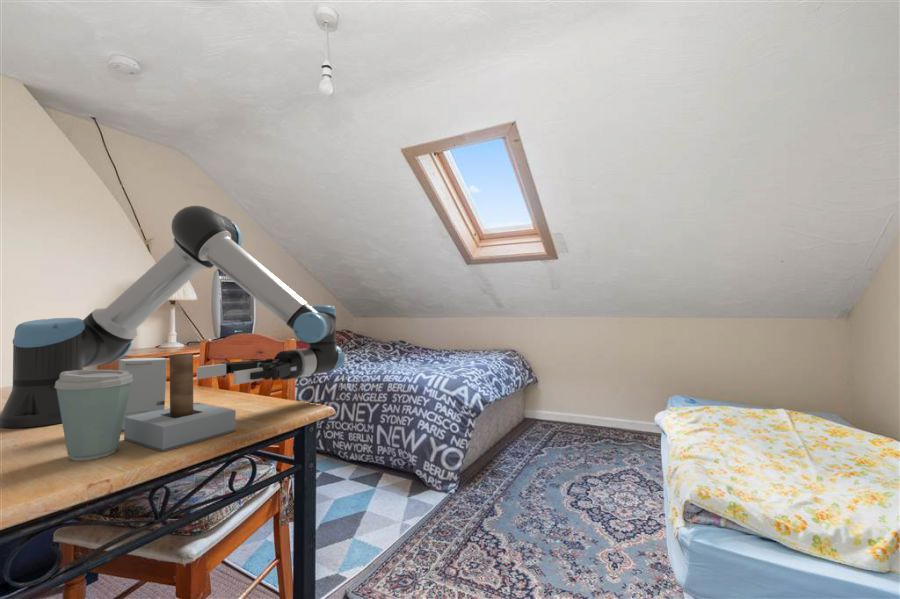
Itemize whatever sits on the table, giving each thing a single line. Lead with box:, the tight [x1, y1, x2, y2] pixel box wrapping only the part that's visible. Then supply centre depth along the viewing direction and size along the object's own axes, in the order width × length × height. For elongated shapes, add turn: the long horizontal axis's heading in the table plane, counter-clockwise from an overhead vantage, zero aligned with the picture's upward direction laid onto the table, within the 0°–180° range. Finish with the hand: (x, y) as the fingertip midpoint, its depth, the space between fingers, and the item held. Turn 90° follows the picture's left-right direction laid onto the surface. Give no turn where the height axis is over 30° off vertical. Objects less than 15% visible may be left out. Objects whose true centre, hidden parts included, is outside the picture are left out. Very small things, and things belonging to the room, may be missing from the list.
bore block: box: [123, 402, 236, 453], centre depth 82 cm, size 14×14×4 cm
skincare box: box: [118, 357, 168, 432], centre depth 90 cm, size 8×6×15 cm
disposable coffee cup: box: [55, 369, 133, 462], centre depth 71 cm, size 11×11×15 cm
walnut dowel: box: [169, 353, 194, 418], centre depth 82 cm, size 4×4×16 cm
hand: (215, 375), depth 88 cm, fingers open, 13 cm apart
